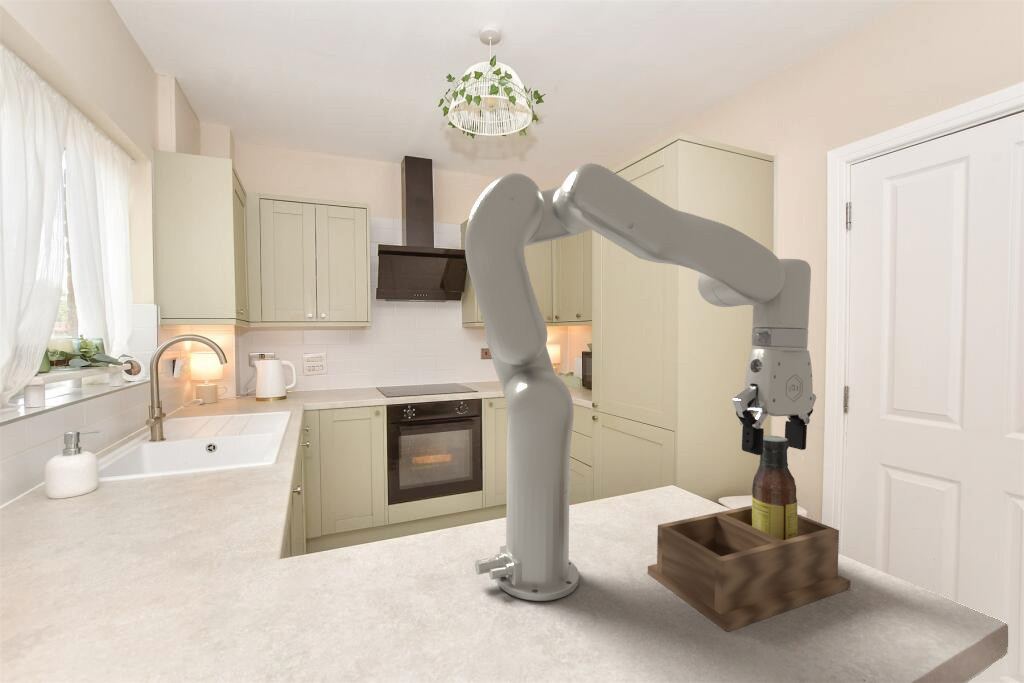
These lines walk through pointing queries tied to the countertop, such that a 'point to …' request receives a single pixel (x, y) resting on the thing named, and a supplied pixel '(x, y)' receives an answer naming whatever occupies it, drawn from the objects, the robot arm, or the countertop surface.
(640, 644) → the countertop surface
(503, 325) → the robot arm
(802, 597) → the caddy
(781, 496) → the sauce bottle
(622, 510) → the countertop surface
